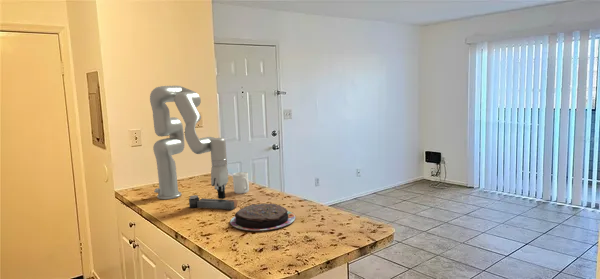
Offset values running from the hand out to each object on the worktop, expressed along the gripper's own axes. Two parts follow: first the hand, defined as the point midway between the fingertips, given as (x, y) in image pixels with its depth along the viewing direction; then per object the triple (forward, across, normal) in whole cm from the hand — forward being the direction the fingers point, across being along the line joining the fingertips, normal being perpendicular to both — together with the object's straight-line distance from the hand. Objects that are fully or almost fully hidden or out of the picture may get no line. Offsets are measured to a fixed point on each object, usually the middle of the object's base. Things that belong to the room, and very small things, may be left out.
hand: (221, 198), depth 205 cm
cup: (+2, -19, +3) cm, 19 cm away
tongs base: (+2, +9, 0) cm, 10 cm away
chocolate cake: (+2, +23, +32) cm, 39 cm away
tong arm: (+2, +9, 0) cm, 9 cm away
